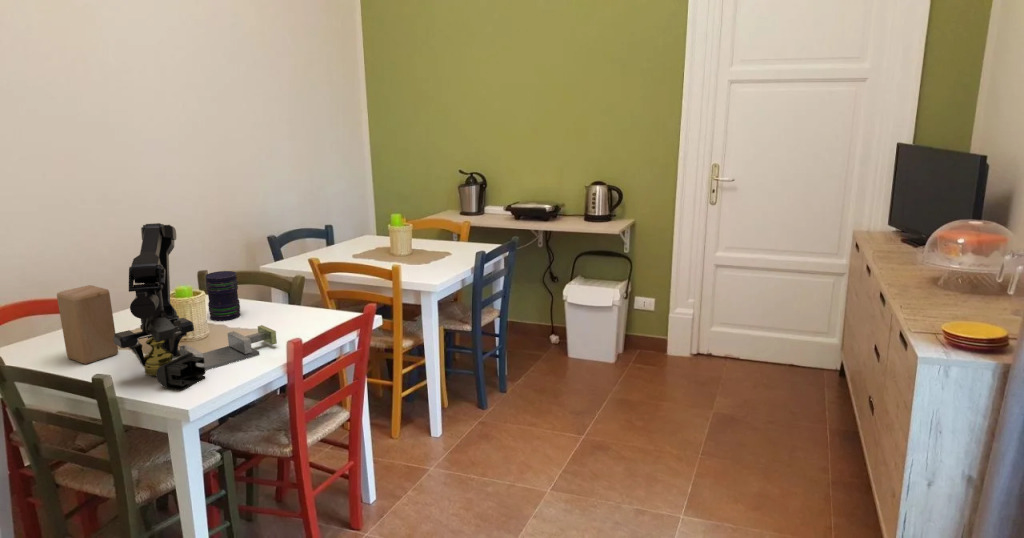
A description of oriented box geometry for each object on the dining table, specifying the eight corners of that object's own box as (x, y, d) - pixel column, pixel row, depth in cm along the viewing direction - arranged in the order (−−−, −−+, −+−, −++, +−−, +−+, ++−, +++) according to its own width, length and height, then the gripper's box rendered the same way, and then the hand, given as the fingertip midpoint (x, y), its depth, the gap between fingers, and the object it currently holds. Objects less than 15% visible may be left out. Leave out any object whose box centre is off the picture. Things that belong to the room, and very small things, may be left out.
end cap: (185, 374, 187) (183, 351, 185) (207, 377, 185) (204, 353, 183) (157, 389, 178) (154, 364, 176) (180, 392, 176) (177, 367, 174)
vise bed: (180, 362, 195) (178, 345, 194) (241, 345, 208) (239, 330, 207) (198, 372, 188) (196, 355, 187) (259, 354, 201) (258, 338, 200)
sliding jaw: (228, 345, 204) (227, 332, 203) (261, 336, 212) (260, 324, 211) (245, 353, 198) (243, 340, 197) (278, 344, 206) (277, 331, 205)
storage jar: (207, 322, 229) (202, 279, 225) (212, 313, 238) (207, 271, 235) (238, 320, 231) (234, 277, 228) (242, 311, 241) (238, 270, 237)
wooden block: (120, 354, 201) (110, 288, 196) (85, 365, 193) (73, 297, 188) (100, 348, 206) (90, 283, 201) (65, 358, 198) (54, 292, 193)
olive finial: (181, 368, 189) (176, 333, 187) (157, 378, 183) (152, 342, 180) (162, 363, 192) (157, 330, 190) (138, 373, 186) (133, 338, 183)
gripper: (125, 322, 171) (133, 380, 175) (199, 305, 185) (206, 360, 188) (108, 312, 178) (117, 369, 182) (181, 297, 192) (188, 350, 196)
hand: (158, 362), depth 187 cm, fingers closed on olive finial, 7 cm apart
